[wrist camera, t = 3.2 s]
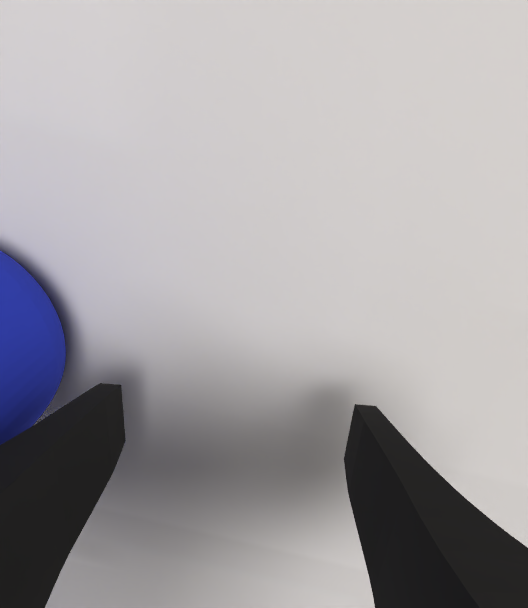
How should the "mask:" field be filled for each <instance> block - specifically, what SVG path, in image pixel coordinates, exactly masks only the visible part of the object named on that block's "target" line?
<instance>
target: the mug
mask: <svg viewBox="0 0 528 608" xmlns="http://www.w3.org/2000/svg"><path fill="white" fill-rule="evenodd" d="M65 360H66V348H65V339H64V333H63V329H62V326H61V322H60V320H59V317H58V315H57V312H56V311H55V309H54V307H53V305H52V303H51V301H50V299H49V298H48V296H47V295H46V293H45V292H44V290H43V289H42V287H41V286H40V285H39V284H38V283H37V282H36V280H35V279H34V278H33V277H32V276H31V275H30V274H29V273H28V272H27V271H26V270H25V269H24V268H23V267H22V266H21V265H20V264H18V263H17V262H16V261H15V260H14V259H12V258H11V257H10V256H8V255H7V254H5V253H3V252H2V251H0V445H1V444H3V443H5V442H6V441H8V440H10V439H11V438H13V437H15V436H17V435H18V434H20V433H22V432H23V431H25V430H27V429H29V428H30V427H32V426H33V425H34V423H35V422H36V421H37V420H38V419H39V417H40V416H41V415H42V414H43V412H44V411H45V410H46V408H47V407H48V405H49V404H50V402H51V401H52V399H53V397H54V395H55V393H56V391H57V389H58V387H59V384H60V382H61V379H62V376H63V372H64V368H65Z"/></svg>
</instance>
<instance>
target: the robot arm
mask: <svg viewBox="0 0 528 608" xmlns="http://www.w3.org/2000/svg"><path fill="white" fill-rule="evenodd" d="M124 443H125V429H124V417H123V404H122V392H121V385H114V384H102V383H100V384H98V385H97V386H95V387H93V388H92V389H90V390H88V391H87V392H85V393H84V394H82V395H81V396H79V397H78V398H76V399H74V400H73V401H71V402H70V403H68V404H67V405H65V406H64V407H62V408H61V409H59V410H57V411H56V412H54V413H53V414H51V415H50V416H48V417H46V418H45V419H43V420H42V421H40V422H39V423H37V424H35V425H34V426H32V427H30V428H29V429H27V430H25V431H23V432H22V433H20V434H18V435H17V436H15V437H13V438H11V439H10V440H8V441H6V442H5V443H3V444H1V445H0V608H45V606H46V603H47V601H48V599H49V597H50V594H51V592H52V590H53V587H54V585H55V583H56V580H57V578H58V576H59V574H60V571H61V569H62V567H63V565H64V563H65V561H66V559H67V557H68V555H69V553H70V551H71V549H72V547H73V546H74V544H75V542H76V540H77V538H78V536H79V535H80V533H81V531H82V529H83V527H84V525H85V524H86V522H87V520H88V518H89V516H90V514H91V513H92V511H93V509H94V507H95V505H96V503H97V502H98V500H99V498H100V496H101V494H102V492H103V490H104V489H105V487H106V485H107V483H108V481H109V479H110V477H111V475H112V473H113V471H114V469H115V466H116V464H117V461H118V459H119V456H120V454H121V451H122V448H123V446H124ZM344 462H345V471H346V479H347V486H348V493H349V498H350V502H351V506H352V510H353V514H354V518H355V522H356V526H357V530H358V534H359V538H360V542H361V546H362V550H363V554H364V558H365V562H366V566H367V570H368V574H369V578H370V583H371V588H372V592H373V597H374V603H375V608H528V548H527V547H526V546H524V545H523V544H522V543H520V542H519V541H518V540H516V539H515V538H514V537H512V536H511V535H510V534H508V533H507V532H506V531H504V530H503V529H502V528H501V527H499V526H498V525H497V524H495V523H494V522H493V521H492V520H490V519H489V518H488V517H487V516H486V515H484V514H483V513H482V512H481V511H480V510H478V509H477V508H476V507H475V506H474V505H473V504H471V503H470V502H469V501H468V500H467V499H465V498H464V497H463V496H462V495H461V494H460V493H459V492H458V491H456V490H455V489H454V488H453V487H452V486H451V485H450V484H449V483H448V482H447V481H446V480H445V479H444V478H443V477H442V476H441V475H440V474H439V473H438V472H436V471H435V470H434V469H433V468H432V467H431V466H430V465H429V464H428V463H427V462H426V461H425V460H424V458H423V457H422V456H421V455H420V454H419V453H418V452H417V451H416V450H415V449H414V448H413V447H412V446H411V445H410V444H409V443H408V441H407V440H406V439H405V438H404V437H403V436H402V435H401V434H400V433H399V432H398V430H397V429H396V428H395V427H394V426H393V425H392V424H391V423H390V421H389V420H388V419H387V418H386V417H385V416H384V415H383V414H382V412H381V411H380V410H379V409H378V408H377V407H376V406H368V405H356V404H355V406H354V411H353V416H352V421H351V426H350V431H349V436H348V441H347V446H346V452H345V457H344Z"/></svg>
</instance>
